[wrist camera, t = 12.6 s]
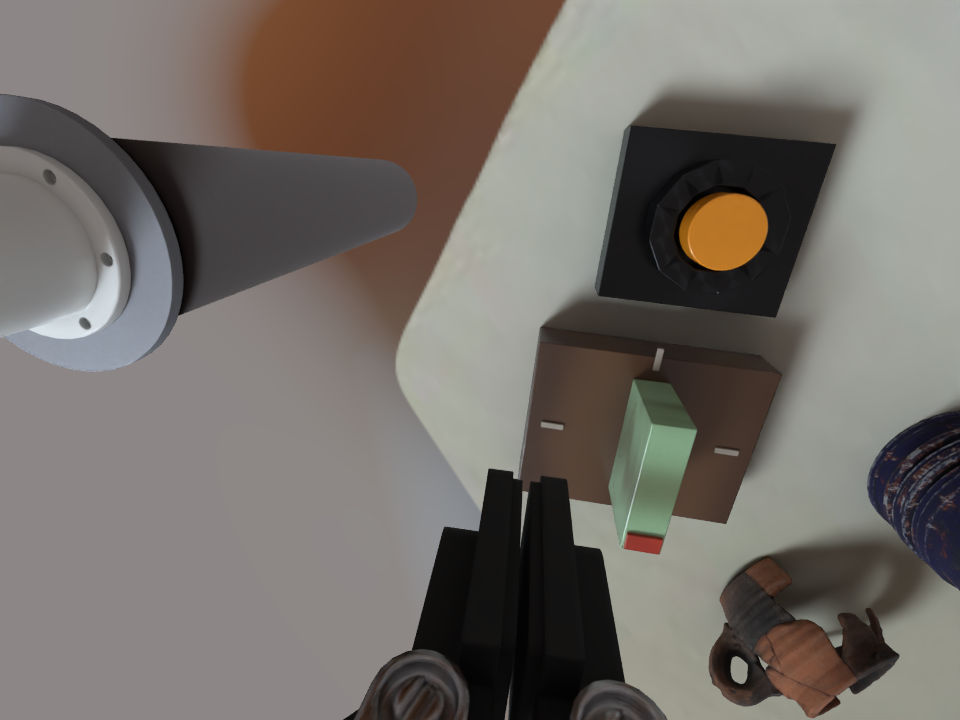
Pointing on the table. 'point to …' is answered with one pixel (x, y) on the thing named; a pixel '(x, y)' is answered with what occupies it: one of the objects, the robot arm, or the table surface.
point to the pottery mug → (791, 647)
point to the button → (723, 230)
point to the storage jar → (923, 491)
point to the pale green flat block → (649, 465)
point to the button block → (677, 186)
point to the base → (603, 402)
